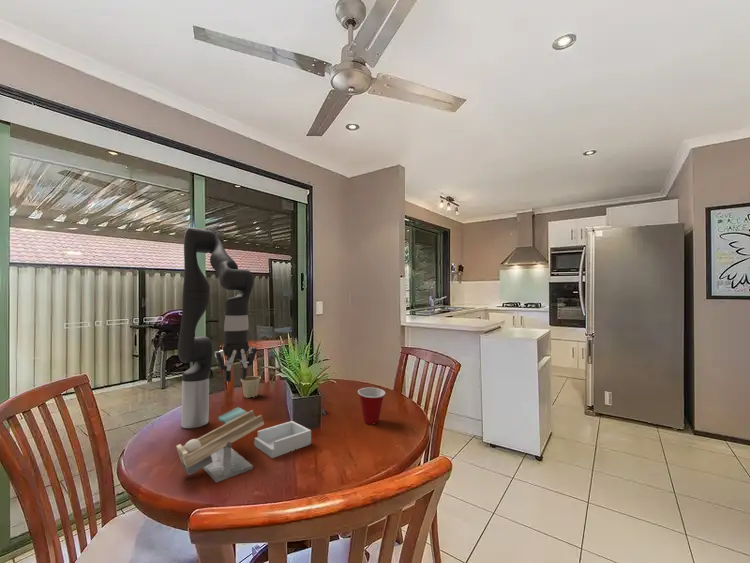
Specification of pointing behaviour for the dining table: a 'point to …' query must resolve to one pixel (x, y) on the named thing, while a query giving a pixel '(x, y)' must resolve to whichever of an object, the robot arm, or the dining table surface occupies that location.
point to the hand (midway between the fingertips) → (235, 380)
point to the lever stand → (226, 464)
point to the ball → (192, 445)
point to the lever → (219, 438)
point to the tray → (282, 438)
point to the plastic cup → (371, 403)
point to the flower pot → (250, 386)
